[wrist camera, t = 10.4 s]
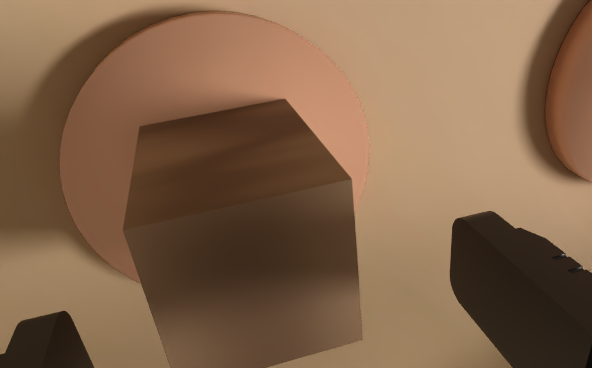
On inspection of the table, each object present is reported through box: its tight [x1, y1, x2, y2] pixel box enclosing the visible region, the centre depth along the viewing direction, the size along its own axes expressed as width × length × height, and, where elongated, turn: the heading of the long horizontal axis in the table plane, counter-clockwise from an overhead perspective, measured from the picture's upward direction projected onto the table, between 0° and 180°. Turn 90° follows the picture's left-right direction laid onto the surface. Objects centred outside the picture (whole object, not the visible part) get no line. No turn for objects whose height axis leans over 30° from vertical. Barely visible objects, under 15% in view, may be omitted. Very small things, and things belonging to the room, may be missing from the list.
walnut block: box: [123, 99, 363, 368], centre depth 13 cm, size 4×4×6 cm
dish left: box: [60, 11, 370, 283], centre depth 16 cm, size 10×10×1 cm
